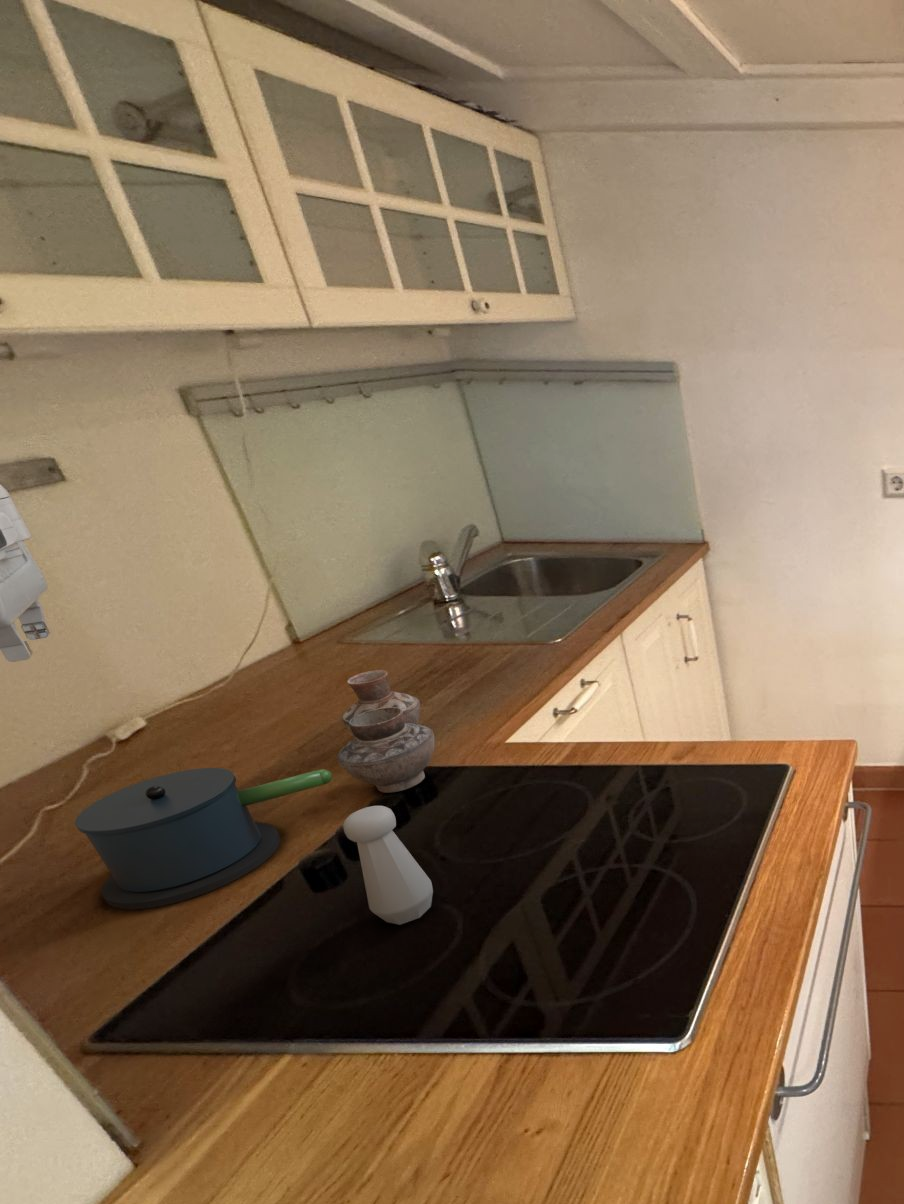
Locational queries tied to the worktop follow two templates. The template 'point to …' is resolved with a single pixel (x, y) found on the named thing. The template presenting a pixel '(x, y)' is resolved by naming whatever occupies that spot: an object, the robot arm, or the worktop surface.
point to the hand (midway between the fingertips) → (31, 647)
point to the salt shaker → (388, 867)
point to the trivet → (198, 887)
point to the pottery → (385, 735)
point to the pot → (180, 825)
